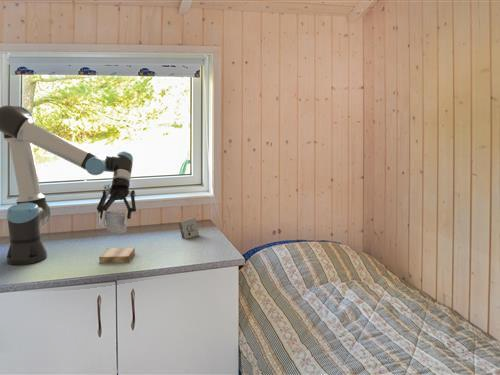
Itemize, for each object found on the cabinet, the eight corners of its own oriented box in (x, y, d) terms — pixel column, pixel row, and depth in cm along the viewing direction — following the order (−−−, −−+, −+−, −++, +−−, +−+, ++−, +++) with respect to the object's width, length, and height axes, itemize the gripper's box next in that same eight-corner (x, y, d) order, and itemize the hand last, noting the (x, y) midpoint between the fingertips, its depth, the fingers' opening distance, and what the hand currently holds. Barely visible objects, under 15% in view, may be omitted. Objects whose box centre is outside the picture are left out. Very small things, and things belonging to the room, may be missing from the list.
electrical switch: (185, 239, 206) (184, 221, 205) (178, 238, 209) (177, 220, 208) (199, 235, 213) (197, 217, 212) (192, 235, 216) (190, 217, 216)
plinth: (99, 262, 172) (99, 257, 172) (107, 253, 184) (106, 248, 184) (128, 262, 173) (128, 256, 173) (134, 253, 185) (134, 247, 184)
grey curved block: (127, 232, 177) (126, 212, 175) (118, 234, 173) (117, 214, 172) (114, 229, 181) (113, 210, 179) (106, 231, 177) (104, 211, 176)
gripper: (146, 186, 190) (141, 229, 177) (98, 187, 189) (90, 230, 175) (143, 176, 184) (138, 219, 171) (94, 177, 182) (85, 221, 169)
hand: (114, 225), depth 173 cm, fingers closed on grey curved block, 9 cm apart
